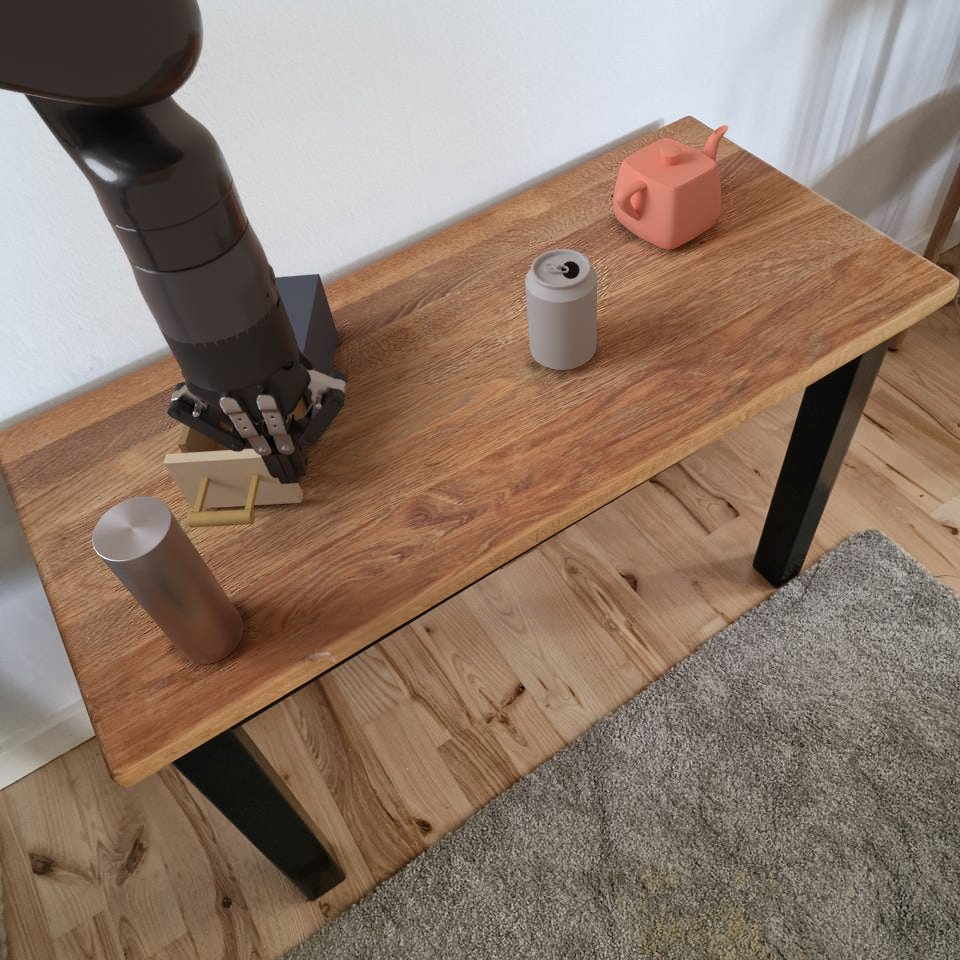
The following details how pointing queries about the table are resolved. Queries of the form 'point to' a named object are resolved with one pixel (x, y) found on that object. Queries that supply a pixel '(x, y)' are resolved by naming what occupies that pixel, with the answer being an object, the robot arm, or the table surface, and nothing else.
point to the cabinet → (310, 320)
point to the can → (562, 309)
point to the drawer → (226, 479)
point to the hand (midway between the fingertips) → (293, 474)
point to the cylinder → (168, 578)
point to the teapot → (669, 191)
